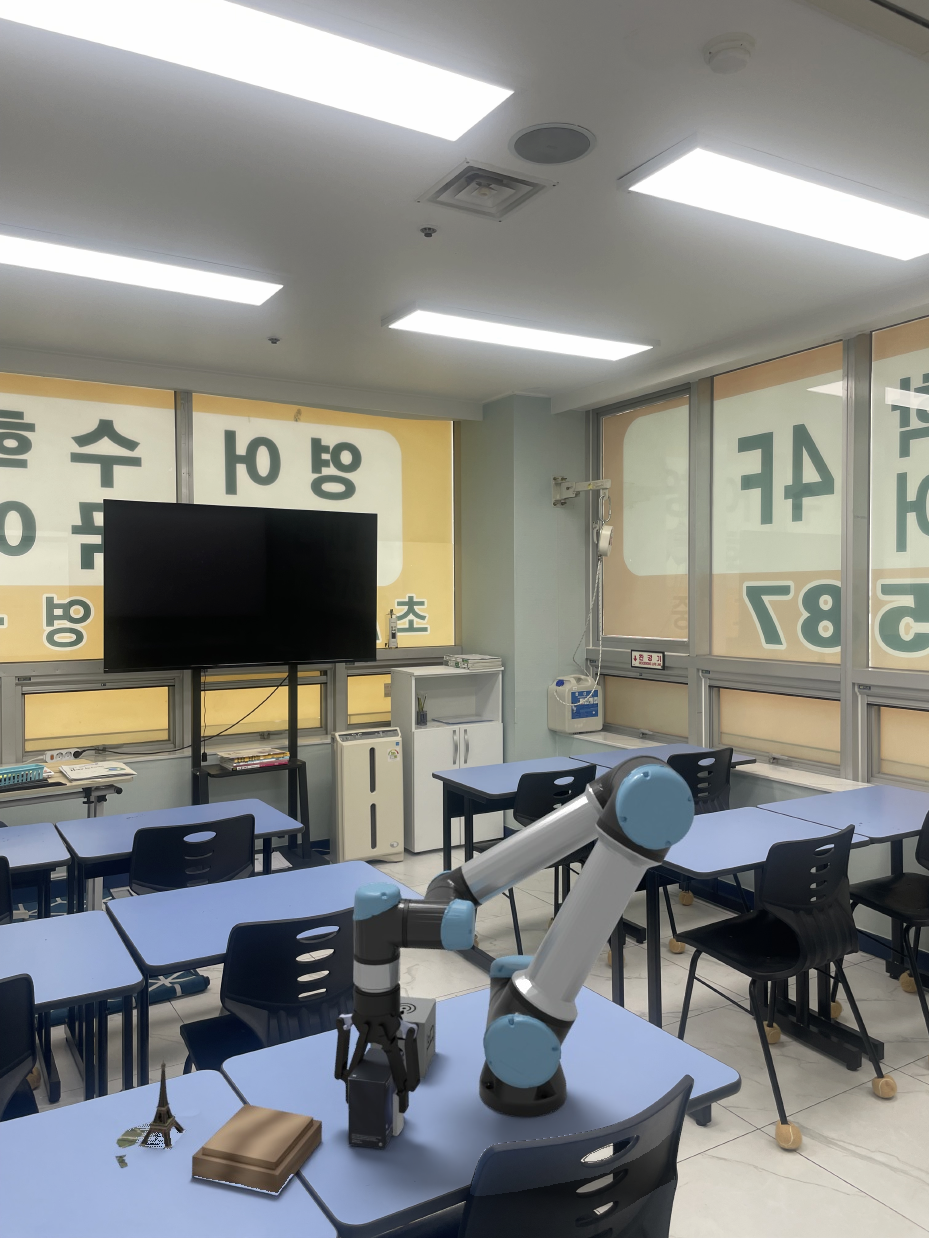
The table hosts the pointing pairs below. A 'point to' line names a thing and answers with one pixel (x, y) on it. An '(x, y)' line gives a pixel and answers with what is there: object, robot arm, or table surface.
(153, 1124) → the eiffel tower figurine
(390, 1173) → the table surface
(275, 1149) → the plinth
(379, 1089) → the small box
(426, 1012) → the icon cube
